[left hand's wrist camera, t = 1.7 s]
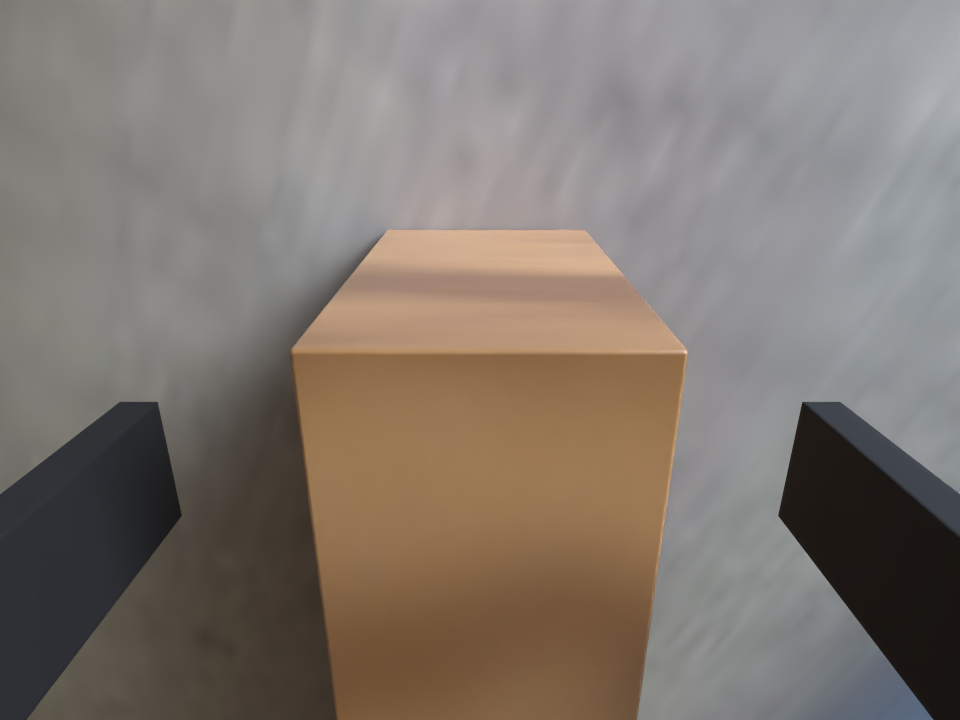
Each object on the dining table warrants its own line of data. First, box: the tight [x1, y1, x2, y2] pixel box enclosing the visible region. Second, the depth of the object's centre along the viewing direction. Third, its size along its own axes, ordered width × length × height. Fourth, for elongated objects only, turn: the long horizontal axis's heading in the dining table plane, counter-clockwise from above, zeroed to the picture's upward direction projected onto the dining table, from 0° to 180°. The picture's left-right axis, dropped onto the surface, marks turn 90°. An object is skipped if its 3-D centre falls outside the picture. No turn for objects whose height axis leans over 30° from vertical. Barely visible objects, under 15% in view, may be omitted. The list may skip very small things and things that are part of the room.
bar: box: [290, 230, 688, 720], centre depth 18 cm, size 27×6×10 cm, turn 0°
